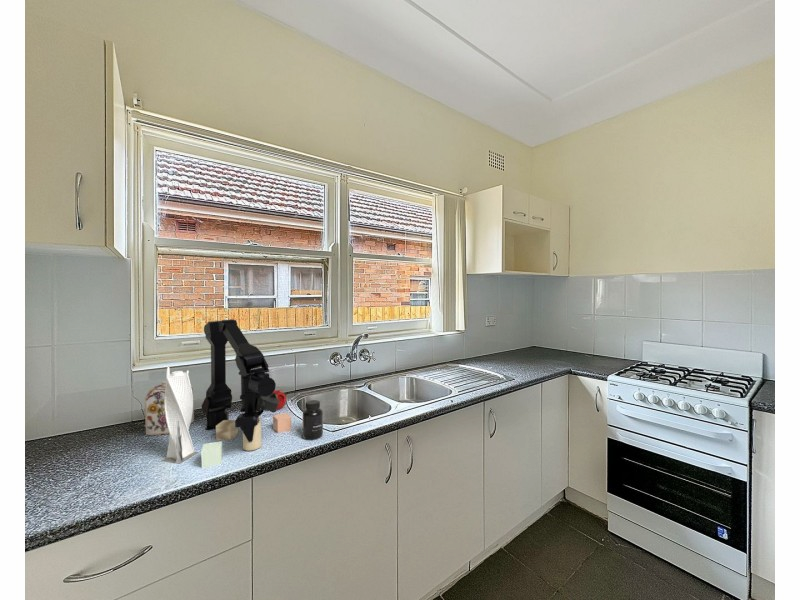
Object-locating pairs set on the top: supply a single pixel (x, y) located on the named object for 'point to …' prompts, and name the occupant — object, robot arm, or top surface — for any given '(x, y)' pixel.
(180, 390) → the skyscraper
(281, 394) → the pomegranate
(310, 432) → the supplement bottle
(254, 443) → the candle
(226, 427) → the birch block
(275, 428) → the terracotta block
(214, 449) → the sage block
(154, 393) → the decorative jar
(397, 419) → the top surface
